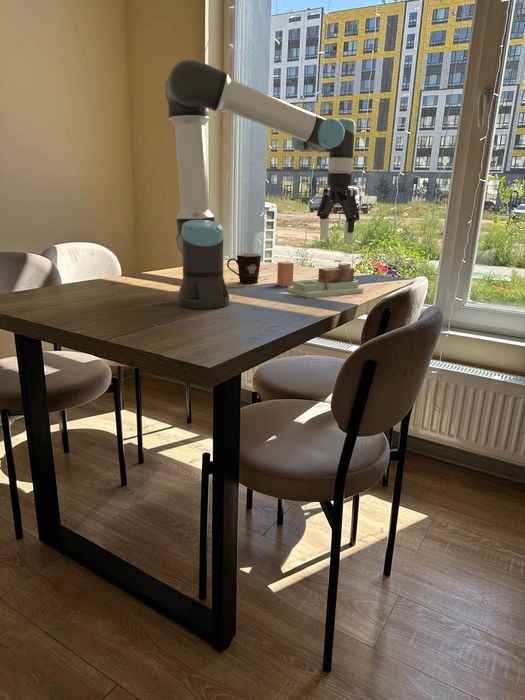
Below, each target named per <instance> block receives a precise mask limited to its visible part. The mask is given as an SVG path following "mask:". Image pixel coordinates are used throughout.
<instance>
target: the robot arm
mask: <svg viewBox="0 0 525 700" xmlns="http://www.w3.org/2000/svg"><path fill="white" fill-rule="evenodd" d="M164 90H165V97H166V101H167V108H168V109H167V110H168V111H167V112H168V120H169V121H170V122H171V123H172V124H173V125H174V133H175V143H176V144H175V145H176V147H175V148H176V159H177V160H176V161H177V173H178V174H177V175H178V185H179V186H178V188H179V189H178V190H179V204H180V205H179V206H180V212H179V213H178V215H176V217H175V218H176V229H177V230H176V231H177V234H176V239H175V240H176V245H177V248H178V251H179V252H180V253H181V255H182V280H181V283H180V286H179V288H178V289H179V290H178V293H177V296H176V297H177V305H178V306H180V307H182V308H183V307H184V308H186V309H187V308H188V309H196V310H197V309H198V310H207V309H208V310H210V309H219V308H220V309H221V308H223V307H227V306H229V305H230V295H229V291H228V287H227V284H226V282H225V281H226V280H225V278H224V237H225V233H224V227H223V225H222V224H221V223H220V222H218V221H216V220H215V219H216V218H215V217H216V216H215V214H213V212H212V211H211V210H210V197H209V183H208V182H209V181H208V179H209V178H208V177H209V176H208V164H207V163H208V161H207V140H206V127H205V126H206V124H207V122H208V121H209V120H210V118H211V117H210V111H211V110H212V111H214V112H218V111H220V110H223V111H226V112H228V113H231V114H233V115H236V116H238V117H241V118H243V119H246V120H248V121H251V122H253V123H256V124H258V125H262V126H264V127H267V128H268V129H272V130H274V131H277V132H279V133H282V134H284V135H287V136H290V137H291V142H292V143H291V144H292V147H293V149H294V150H295V151H299V152H320V153H321V152H323V153H328V154H329V155H328V167H327V170H328V172H329V173H328V174H327V185H328V186H330V187H329V188H328V187H326V188H325V187H324V188H323V194H322V198H321V201H320V204H319V207H318V209H317V213H316V216H317V217H319V219H320V227H319V228H320V232H319V239H320V240H328V239H329V230H330V229H329V226H330V218H329V216H330V214H331V212H332V210H333V209H334V207H335V205H337V204H339V205H340V207H341V208H342V209H341V210H342V211H343V214H344V217H345V218H346V220H345V223H344V233H343V244H353V236H354V231H355V223H356V222H357V221H360V214H359V208H358V205H357V198H356V189H354V188H349V187H350V186H351V185H352V179H353V174H352V172H353V166H354V165H353V164H354V163H353V162H354V152H355V151H354V149H355V139H356V122H355V121H354V119H351V118H324V117H323V116H320V115H318V114H315V113H312V112H311V111H308V110H305V109H302V108H301V107H299V106H296V105H293V104H291V103H288V102H286V101H283V100H282V99H279V98H276V97H273V96H272V95H269V94H267V93H265V92H262V91H259V90H258V89H255V88H252V87H250V86H248V85H245V84H243V83H240V82H238V81H235V80H233V79H231V78H230V76H229V73H227V72H225V71H224V70H220V69H218V68H216V67H214V66H211V65H210V64H207V63H205V62H203V61H200V60H198V59H192V58H191V59H190V58H186V59H183V60H180V61H178V62H177V63H176V64H174V66H173V67H172V69H170V73H169V76H168V77H167V78H166V82H165V89H164Z"/></svg>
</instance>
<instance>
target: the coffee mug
mask: <svg viewBox="0 0 525 700" xmlns="http://www.w3.org/2000/svg"><path fill="white" fill-rule="evenodd" d="M236 258H237V259H236ZM236 258H230V259H228V260H227V264H226V267H227V268H228V269H229V270H230V271H231V272H232V273H234V274H235V275H236V276H238V278H239V284H242V285H257V284H258V282H259V276H260V275H259V274H260V267H261V259H262V254H261V253H257V252H256V253H255V252H253V253H252V252H240V253H237V254H236ZM231 261H235V263H236V265H237V269H238V272H236V271H235V270H233V269H232V268H231V267H230V266H229V265H230V264H229V263H230V262H231Z"/></svg>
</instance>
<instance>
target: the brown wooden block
mask: <svg viewBox="0 0 525 700" xmlns="http://www.w3.org/2000/svg"><path fill="white" fill-rule="evenodd" d="M337 266H338V267H323V268H322V267H321V268H318V276H317V277H318V278H317V279H318V281H319V282H322V283H325V289H326V283H337V282H349V281H353V279H355V278H354V277H355V269H354V268H353V267H351V263H347V262H344V263H343V262H342V263H340V262H339V263H338V265H337Z"/></svg>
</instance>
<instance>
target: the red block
mask: <svg viewBox="0 0 525 700" xmlns="http://www.w3.org/2000/svg"><path fill="white" fill-rule="evenodd" d="M294 266H295V265H294V262H290V261H278V262H277V280H276V284H277V286H279V285H280V286H279V287H282V288H284V287H285V286H287V287H288V286H293V282H294Z"/></svg>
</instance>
